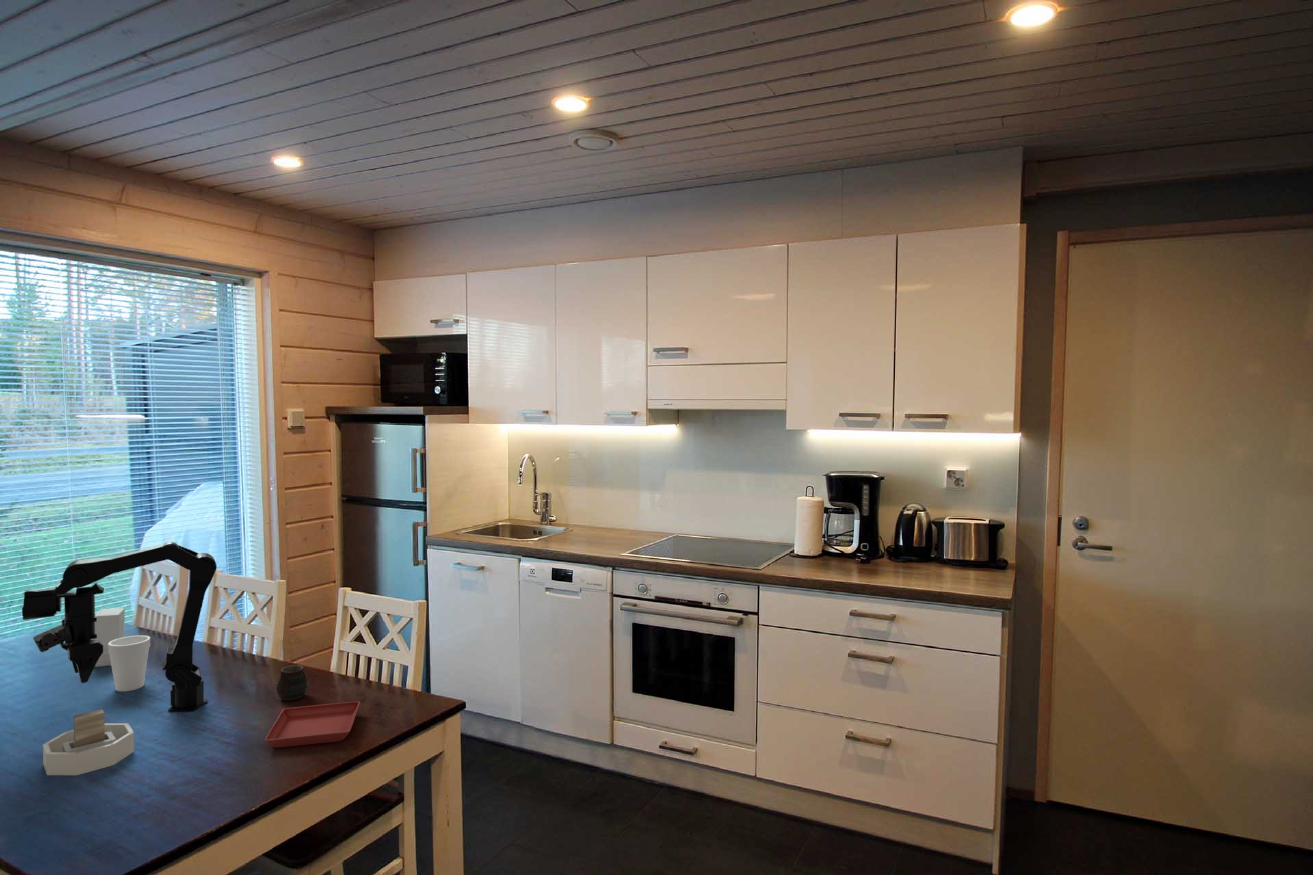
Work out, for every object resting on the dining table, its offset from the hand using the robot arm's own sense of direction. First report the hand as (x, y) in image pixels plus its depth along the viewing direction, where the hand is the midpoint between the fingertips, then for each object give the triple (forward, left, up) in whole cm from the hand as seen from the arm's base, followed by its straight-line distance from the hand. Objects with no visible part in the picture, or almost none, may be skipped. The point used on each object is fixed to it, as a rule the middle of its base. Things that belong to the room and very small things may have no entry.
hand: (81, 677), depth 174 cm
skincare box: (+26, -45, -12) cm, 53 cm away
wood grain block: (-14, +16, -11) cm, 24 cm away
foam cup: (+6, -25, -12) cm, 28 cm away
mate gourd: (-42, -18, -12) cm, 47 cm away
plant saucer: (-57, +2, -13) cm, 58 cm away
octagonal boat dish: (-14, +16, -12) cm, 24 cm away
